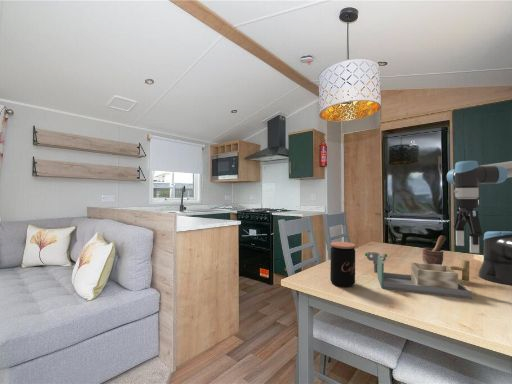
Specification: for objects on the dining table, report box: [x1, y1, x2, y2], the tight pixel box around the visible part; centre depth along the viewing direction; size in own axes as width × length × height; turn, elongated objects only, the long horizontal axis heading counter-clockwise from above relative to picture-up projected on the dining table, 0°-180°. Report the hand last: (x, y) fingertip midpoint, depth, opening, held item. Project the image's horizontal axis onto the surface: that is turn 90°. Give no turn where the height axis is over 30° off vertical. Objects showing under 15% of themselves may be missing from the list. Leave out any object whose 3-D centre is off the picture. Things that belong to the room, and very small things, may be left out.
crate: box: [410, 259, 470, 289], centre depth 110 cm, size 20×12×12 cm, turn 71°
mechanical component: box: [364, 251, 388, 274], centre depth 133 cm, size 3×10×10 cm, turn 79°
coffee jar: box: [329, 241, 356, 288], centre depth 117 cm, size 11×11×18 cm
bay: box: [377, 254, 473, 300], centre depth 113 cm, size 32×15×11 cm, turn 71°
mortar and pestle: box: [421, 234, 447, 265], centre depth 129 cm, size 12×9×20 cm
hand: (466, 249), depth 107 cm, fingers open, 13 cm apart
